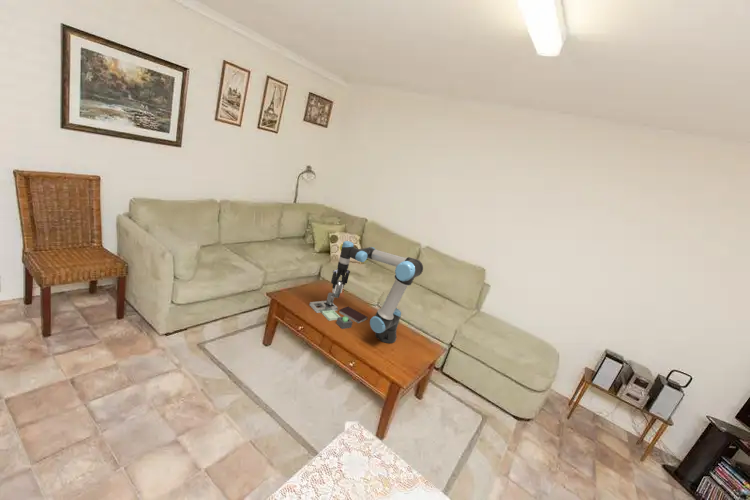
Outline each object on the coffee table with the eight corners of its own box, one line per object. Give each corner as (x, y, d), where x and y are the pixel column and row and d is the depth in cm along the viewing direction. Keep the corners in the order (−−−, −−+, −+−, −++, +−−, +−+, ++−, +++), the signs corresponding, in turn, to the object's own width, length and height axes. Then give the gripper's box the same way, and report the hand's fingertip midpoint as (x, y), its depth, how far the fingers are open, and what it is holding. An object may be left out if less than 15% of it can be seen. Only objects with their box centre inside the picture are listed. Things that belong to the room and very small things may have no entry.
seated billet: (332, 309, 270) (336, 295, 267) (327, 309, 267) (330, 295, 264) (329, 306, 274) (332, 292, 270) (323, 306, 270) (327, 292, 267)
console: (351, 328, 250) (352, 322, 248) (341, 329, 245) (343, 323, 243) (345, 322, 256) (346, 316, 254) (336, 323, 251) (337, 317, 249)
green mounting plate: (340, 319, 257) (340, 317, 257) (328, 321, 251) (329, 318, 250) (332, 312, 265) (333, 309, 265) (321, 313, 259) (321, 311, 258)
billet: (340, 297, 253) (344, 282, 250) (334, 298, 250) (338, 282, 247) (337, 294, 257) (340, 279, 254) (331, 294, 254) (334, 279, 250)
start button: (347, 324, 250) (349, 318, 248) (343, 325, 247) (344, 319, 246) (344, 322, 252) (346, 316, 251) (340, 322, 250) (341, 316, 249)
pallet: (337, 311, 269) (337, 307, 268) (316, 313, 257) (317, 309, 257) (329, 303, 277) (330, 300, 277) (309, 305, 266) (310, 302, 265)
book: (347, 309, 277) (348, 305, 276) (367, 320, 269) (368, 316, 268) (337, 313, 267) (338, 309, 266) (358, 324, 258) (359, 321, 257)
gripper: (351, 260, 255) (344, 289, 261) (330, 260, 243) (323, 290, 249) (357, 264, 249) (349, 293, 255) (335, 264, 238) (328, 295, 244)
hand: (336, 292), depth 252 cm, fingers closed on billet, 5 cm apart
